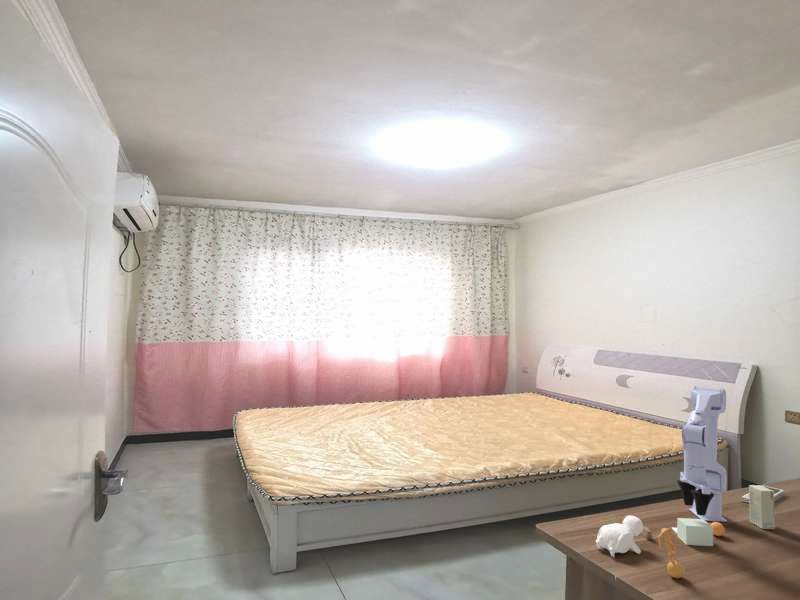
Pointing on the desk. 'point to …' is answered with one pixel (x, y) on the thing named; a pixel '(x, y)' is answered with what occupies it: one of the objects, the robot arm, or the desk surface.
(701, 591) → the desk surface
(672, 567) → the figurine
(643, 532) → the stopper
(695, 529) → the pale green block
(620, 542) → the white crawling baby figure
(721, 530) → the ball
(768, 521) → the skincare box
